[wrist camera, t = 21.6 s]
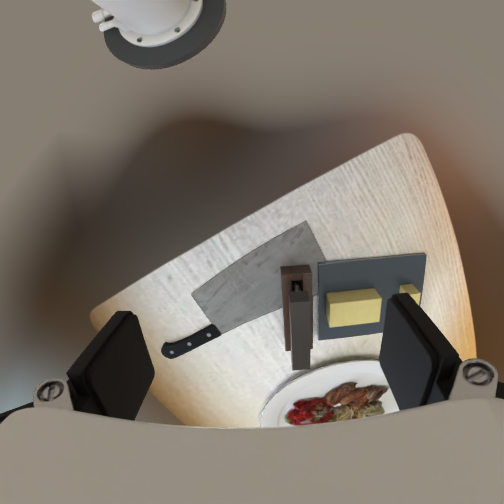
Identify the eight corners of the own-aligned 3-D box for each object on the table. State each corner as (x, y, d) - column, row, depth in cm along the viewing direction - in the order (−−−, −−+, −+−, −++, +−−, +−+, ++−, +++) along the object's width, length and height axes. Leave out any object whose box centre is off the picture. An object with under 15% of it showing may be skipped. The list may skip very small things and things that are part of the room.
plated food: (408, 435, 51) (412, 445, 48) (277, 464, 55) (277, 476, 52) (420, 332, 42) (428, 344, 39) (240, 374, 46) (239, 388, 43)
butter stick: (325, 315, 41) (329, 327, 38) (325, 292, 40) (330, 303, 37) (372, 310, 40) (379, 321, 37) (374, 287, 39) (382, 298, 36)
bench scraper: (288, 332, 43) (292, 370, 35) (285, 271, 40) (289, 302, 32) (303, 331, 43) (310, 369, 35) (302, 270, 40) (310, 301, 32)
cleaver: (133, 315, 44) (171, 362, 46) (132, 316, 43) (170, 364, 46) (305, 220, 38) (339, 283, 40) (306, 221, 37) (339, 284, 40)
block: (284, 339, 43) (285, 351, 41) (280, 266, 40) (281, 275, 37) (310, 337, 43) (312, 349, 40) (309, 263, 40) (312, 272, 37)
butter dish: (317, 337, 43) (318, 340, 42) (317, 261, 39) (318, 264, 39) (414, 324, 42) (416, 327, 41) (424, 252, 38) (426, 254, 37)
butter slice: (397, 307, 40) (405, 318, 37) (399, 284, 39) (408, 294, 36) (409, 305, 40) (417, 316, 37) (411, 283, 39) (421, 293, 36)
